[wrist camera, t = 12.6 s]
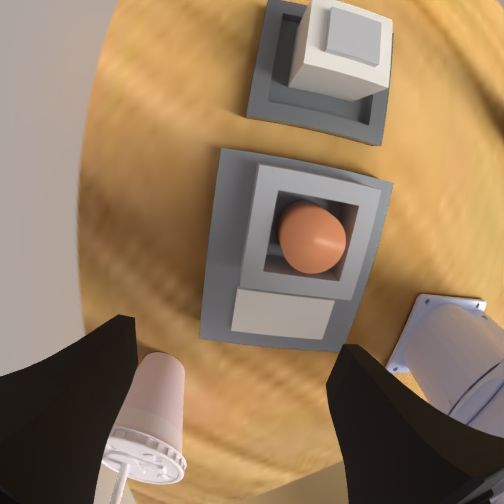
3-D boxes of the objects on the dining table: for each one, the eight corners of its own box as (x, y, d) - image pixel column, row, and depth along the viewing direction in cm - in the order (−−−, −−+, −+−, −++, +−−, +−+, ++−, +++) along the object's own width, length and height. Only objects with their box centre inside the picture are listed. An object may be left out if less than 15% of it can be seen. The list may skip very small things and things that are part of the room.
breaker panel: (379, 179, 17) (415, 189, 13) (334, 336, 21) (351, 375, 17) (224, 148, 16) (216, 147, 12) (202, 322, 20) (193, 362, 16)
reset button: (335, 205, 15) (352, 217, 13) (323, 257, 16) (336, 277, 14) (281, 195, 15) (288, 205, 12) (271, 249, 16) (276, 269, 13)
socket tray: (384, 39, 14) (393, 33, 12) (371, 145, 16) (381, 145, 15) (266, 7, 13) (268, -2, 12) (246, 118, 16) (246, 115, 14)
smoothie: (119, 336, 21) (45, 481, 8) (195, 339, 21) (159, 516, 8) (138, 390, 23) (95, 520, 10) (205, 395, 23) (188, 541, 10)
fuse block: (357, 47, 14) (396, 16, 9) (351, 102, 15) (393, 86, 10) (296, 31, 13) (315, -11, 8) (287, 86, 15) (305, 59, 10)
